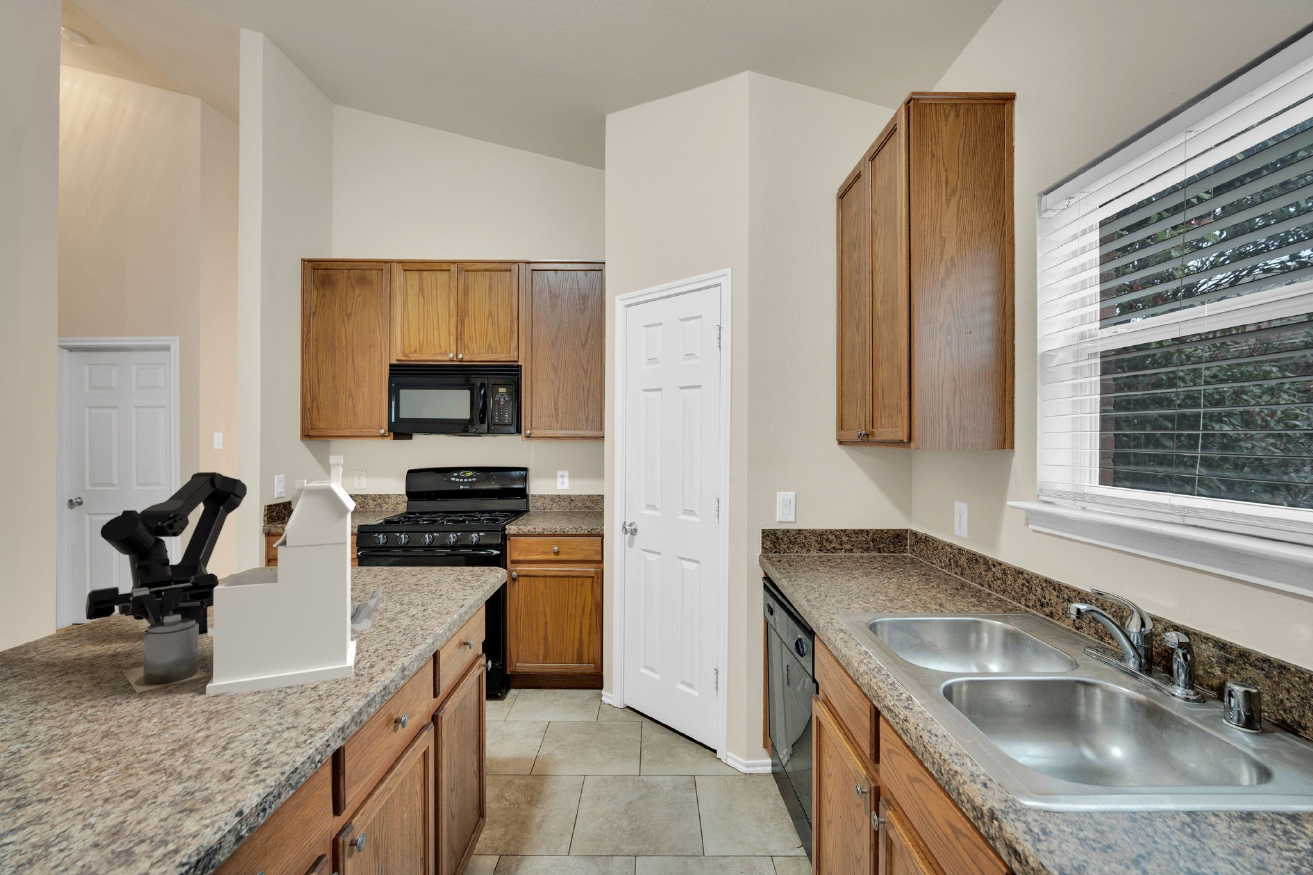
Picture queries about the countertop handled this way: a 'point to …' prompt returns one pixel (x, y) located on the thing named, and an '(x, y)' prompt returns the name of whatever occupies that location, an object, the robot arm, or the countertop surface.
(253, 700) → the countertop surface
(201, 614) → the robot arm
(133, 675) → the tan rectangular board
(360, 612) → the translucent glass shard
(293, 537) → the dollhouse
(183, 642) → the grey lidded jar
